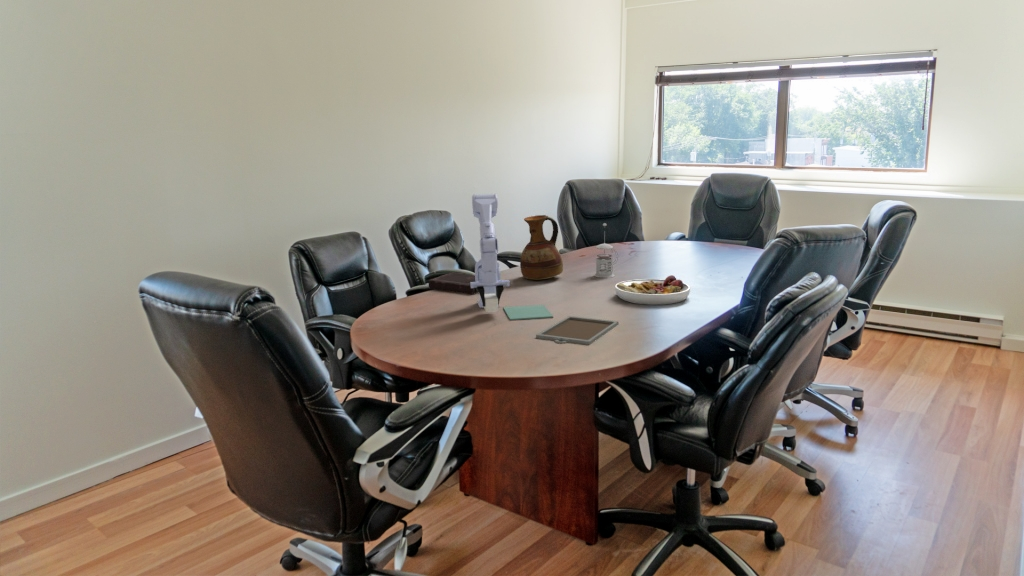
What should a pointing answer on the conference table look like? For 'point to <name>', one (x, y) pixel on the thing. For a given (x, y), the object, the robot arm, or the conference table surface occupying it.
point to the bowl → (653, 291)
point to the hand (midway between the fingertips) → (490, 305)
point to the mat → (527, 312)
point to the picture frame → (577, 330)
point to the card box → (491, 303)
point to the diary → (454, 283)
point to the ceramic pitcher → (540, 251)
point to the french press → (604, 261)
